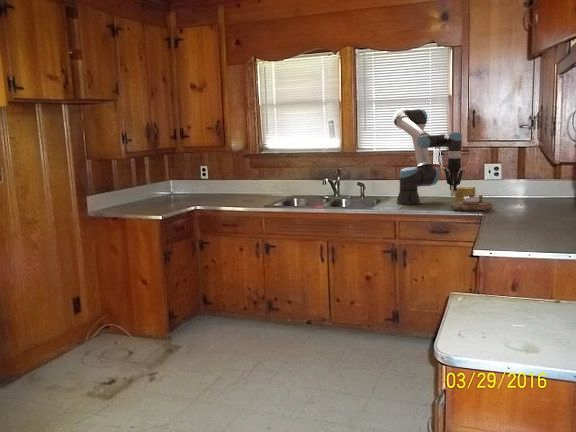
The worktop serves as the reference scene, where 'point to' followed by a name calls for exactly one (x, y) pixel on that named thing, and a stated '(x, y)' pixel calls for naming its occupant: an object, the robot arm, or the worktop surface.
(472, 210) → the turntable base
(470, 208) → the turntable
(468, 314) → the worktop surface
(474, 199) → the cover
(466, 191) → the cheese
